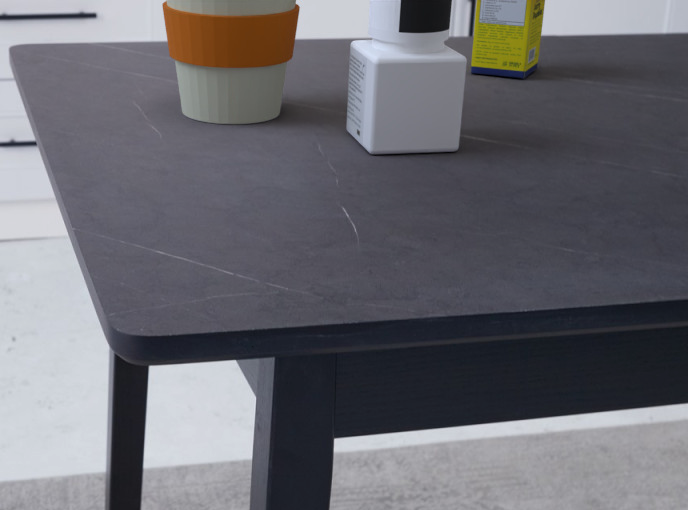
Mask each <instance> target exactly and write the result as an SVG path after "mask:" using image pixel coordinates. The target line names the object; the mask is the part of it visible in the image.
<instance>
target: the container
mask: <svg viewBox="0 0 688 510" xmlns="http://www.w3.org/2000/svg"><path fill="white" fill-rule="evenodd" d="M452 3H453V0H369V10H368V13H369V14H368V15H369V16H368V27H367V29H368V31H367V33H368V34H367V36H368V37H370V38H371V39H355V40H353V41H351V42H350V48H349V67H348V68H349V69H348V89H347V107H346V109H347V111H346V132H348V133H349V135H351V136H352V137H353V138H354V140H356V141H357V142H358V144H360V145H361V146H362V147H363V148H364V149H365V150H366V151H367V152H368V153H369V154H370V155H395V154H396V155H397V154H421V153H422V154H423V153H448V152H449V153H450V152H451V153H452V152H453V153H454V152H457V151H458V150H459V148H460V147H459V146H460V138H461V129H462V127H461V126H462V117H463V105H464V96H465V95H464V94H465V84H466V83H465V82H466V73H467V62H468V61H467V60H468V59H467V58H466V56H465V55H463V54H461V53H460V52H458V51H456V50H455V49H452V47H449V46H447V45H446V44H445V41H448V40H449V38H450V28H451V27H450V26H451V18H452V17H451V15H452Z"/></svg>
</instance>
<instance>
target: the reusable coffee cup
mask: <svg viewBox="0 0 688 510" xmlns="http://www.w3.org/2000/svg"><path fill="white" fill-rule="evenodd" d="M300 9H301V7H300V5H299V4H298V3H297V0H165V1H163V3H162V12H163V20H164V26H165V34H166V39H167V40H166V41H167V48H168V52H169V53H168V54H169V57H170V58H171V59H172V60H174V63H175V70H176V71H175V72H176V77H177V78H176V79H177V84H178V85H177V86H178V91H179V100H180V106H181V112H182V114H183V116H185V117H187V118H189V119H192V120H193V121H194V120H195V121H199V122H203V123H208V124H219V125H246V124H247V125H248V124H257V123H263V122H267V121H271V120H274V119H276V118H277V117H278V116H280V113H281V109H282V108H281V107H282V101H283V95H284V94H283V93H284V87H285V80H286V73H287V67H288V62H289V61H291V60H292V59H293V57H294V49H295V42H296V36H297V30H298V23H299V15H300Z"/></svg>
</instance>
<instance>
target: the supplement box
mask: <svg viewBox="0 0 688 510" xmlns="http://www.w3.org/2000/svg"><path fill="white" fill-rule="evenodd" d="M545 4H546V0H476V5H475V16H474V26H473V27H474V28H473V40H472V51H471V63H470V74H473V75H474V74H475V75H476V74H478V75H486V76H496V77H497V76H498V77H506V78H514V79H515V78H516V79H521V80H524V79H526V78H528V76H529V75H531V74H532V73H534V72H535V71H536V70H537V69H538V67H539V66H538V64H539V57H540V50H541V48H540V47H541V39H542V32H543V31H542V30H543V23H544V22H543V21H544V14H545Z"/></svg>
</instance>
